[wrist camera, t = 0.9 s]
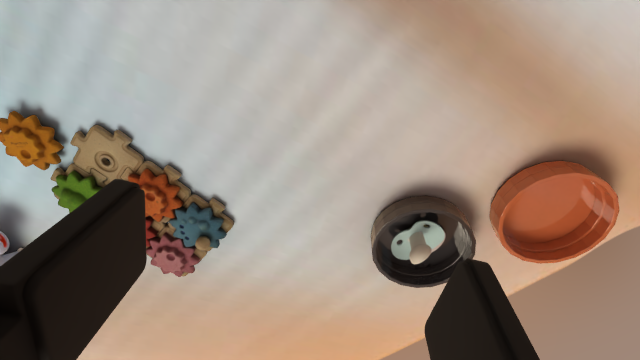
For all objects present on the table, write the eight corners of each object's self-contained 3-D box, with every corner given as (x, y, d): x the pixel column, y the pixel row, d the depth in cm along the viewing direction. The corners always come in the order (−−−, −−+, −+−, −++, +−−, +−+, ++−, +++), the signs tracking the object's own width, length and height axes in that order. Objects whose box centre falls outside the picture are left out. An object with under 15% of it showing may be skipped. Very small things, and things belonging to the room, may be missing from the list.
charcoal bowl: (405, 178, 44) (409, 192, 41) (488, 220, 46) (498, 237, 43) (353, 247, 50) (354, 263, 47) (429, 281, 52) (434, 300, 49)
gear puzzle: (-8, 153, 47) (-38, 167, 44) (30, 63, 41) (-1, 70, 37) (186, 276, 56) (175, 295, 52) (244, 217, 49) (235, 235, 45)
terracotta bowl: (540, 141, 40) (556, 153, 37) (624, 189, 42) (645, 205, 39) (467, 220, 46) (475, 236, 43) (544, 259, 48) (557, 277, 45)
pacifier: (454, 235, 47) (428, 208, 45) (468, 269, 42) (440, 239, 40) (409, 261, 50) (383, 236, 48) (417, 295, 45) (389, 269, 43)
